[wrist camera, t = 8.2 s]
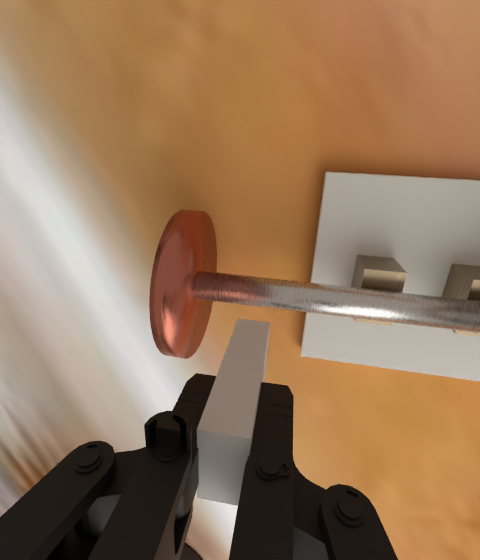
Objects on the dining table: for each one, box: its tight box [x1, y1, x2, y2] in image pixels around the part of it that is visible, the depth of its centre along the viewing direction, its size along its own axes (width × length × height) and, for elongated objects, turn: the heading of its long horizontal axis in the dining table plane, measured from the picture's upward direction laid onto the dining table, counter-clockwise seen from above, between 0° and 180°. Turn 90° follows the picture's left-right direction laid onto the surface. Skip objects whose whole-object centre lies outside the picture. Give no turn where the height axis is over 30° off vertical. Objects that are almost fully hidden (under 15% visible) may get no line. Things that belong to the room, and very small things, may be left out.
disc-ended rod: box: [150, 210, 480, 358], centre depth 19 cm, size 20×9×9 cm, turn 87°
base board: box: [301, 171, 480, 381], centre depth 22 cm, size 20×14×1 cm
